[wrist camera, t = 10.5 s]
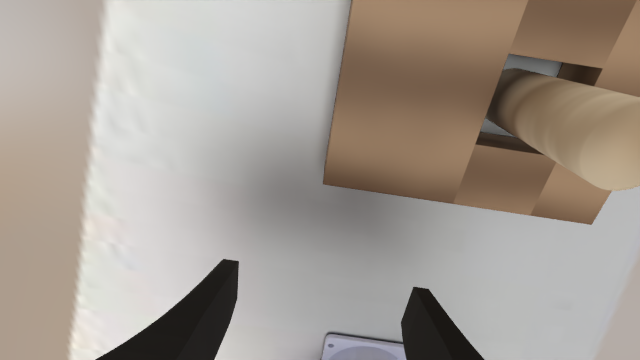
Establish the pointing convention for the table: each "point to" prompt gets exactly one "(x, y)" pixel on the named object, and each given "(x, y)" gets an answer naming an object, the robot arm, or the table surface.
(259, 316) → the table surface
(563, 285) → the table surface
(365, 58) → the walnut socket board
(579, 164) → the beech peg
